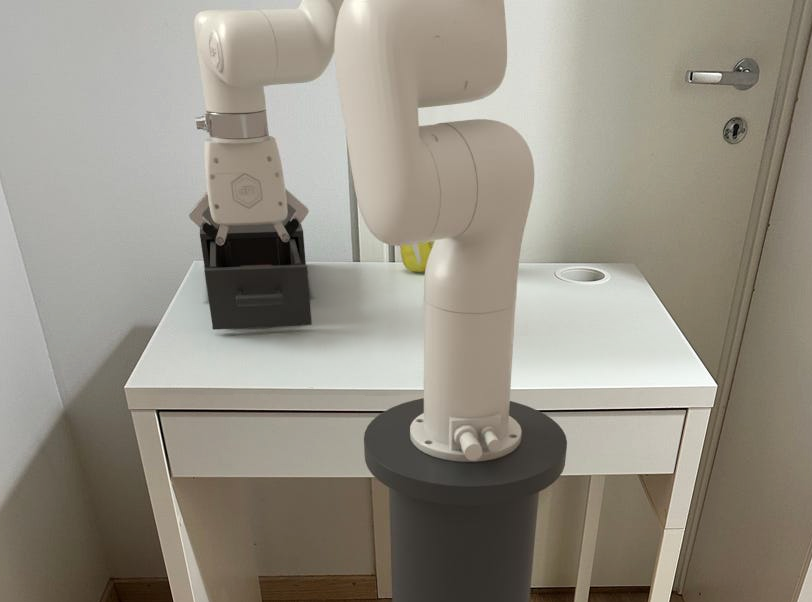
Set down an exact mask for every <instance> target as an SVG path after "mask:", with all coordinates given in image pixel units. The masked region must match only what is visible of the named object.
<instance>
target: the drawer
mask: <svg viewBox="0 0 812 602" xmlns="http://www.w3.org/2000/svg"><path fill="white" fill-rule="evenodd" d="M277 239H278V237H274V238H242V239H227V241H228V242H229V245H230V252H231V259H232V266H233V267H222V264H221V257H220V251H219V245H218V244H217V243H216V242H215V241H214V240H213V239H210V268H205V267H204V277H205V285H206V293H207V299H208V305H209V313H210V319H211V325H212V330H233V329H234V330H235V329H237V330H238V329H255V328H276V327H295V326H297V327H298V326H312V325H313V321H312V309H311V297H310V296H311V293H310V284H309V283H310V282H309V269H308V265H307V263H306V264H304V265H301V262H300V258H299V254H298V250H297V246H296V242H295V238H294V237H290V239H289V241H288V249H289V259H290V265H279V256H278V247H277ZM244 265H272V266H249V267H240V266H244Z"/></svg>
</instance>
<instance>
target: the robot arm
mask: <svg viewBox="0 0 812 602" xmlns="http://www.w3.org/2000/svg"><path fill="white" fill-rule="evenodd" d="M193 29H194V37H195V43H196V51H197V58H198V64H199V71H200V78H201V79H200V80H201V85H202V86H201V87H202V93H203V99H204V105H205V106H204V107H205V113H204V115H201V116H199V117H196V116H195V124H196V130H203V131H206V133H208V134H209V137H208V138H205V139H204V147H203V148H204V149H203V151H204V153H203V155H204V156H203V157H204V172H205V180H206V181H205V182H206V192H205V193H204V195H203V196H201V198H200V199H199V200H198V201H197V203H196V204H194V206H193V207H192V208H191V210H190V211H189V213H188V217H189V219H190V220H191V221H192V222H193V223H194V224H195V225H196V226H197V227H198V228H199V229H200V228H201V229H202V230H203V231H204V232H205V233H206V234H207V235H208V236H209V237H211V238H212V239H213V240H214V241H215V242H216V243H217V244H218V245H219V251H220V257H221V264H222V267H233V266H232V259H231V252H230V245H229V242H228V241H227V237H226V236H227V233H228V230H229V226H234V225H256V224H273V226H274V228H275V229H276V231H277V233H278V239H277V247H278V256H279V265H290V259H289V249H288V241H289V239H290V237H291V236H292V235H293V233H294V232H295V231H296V230H297V229H298V227H299V225H300V224H301V225H302V223H303V221H304V220H305V219H306V217H307V216H308V215H309V208H308V206H307V205H306V204H305V203H303V202H302V201H301V200H300V198H298V197H296V196H295V195H294V194H293V193H291V192H290V191H289V190H288V189H287V188H286V184H285V177H284V172H283V165H282V159H281V155H280V152H279V147H278V143H277V140H276V138H275V137H274V136H272V135H270V133H269V132H270V131H269V123H268V115H267V114H268V113H267V105H266V97H265V96H266V95H265V88H264V87H268V86H277V85H294V84H305V83H306V84H307V83H310V82H314V81H315V80H318V79H319V78H320V77H321V76H322V75H323V74H324V72H325V71H326V69H328V67H329V65H330V63H331V61H332V58H333V56H334V64H335V73H336V80H337V81H336V82H337V88H338V93H339V100H340V105H341V112H342V117H343V124H344V125H343V126H344V130H345V131H344V132H345V135H346V136H345V137H346V143H347V150H348V156H349V162H350V170H351V175H352V181H353V186H354V187H353V188H354V191H355V197H356V200H357V205H358V208H359V211H360V214H361V217H362V219H363V221H364V224H365V226H366V228H367V229H368V230H369V232H370V233H371V234H372V235H373V237H375V239H377V240H378V241H379V242H382V243H383V244H386V245H388V246H394V247H400V246H406V245H413V244H418V243H425V242H430V241H435V242H434V245H433V247H432V250H431V252H430V255H429V258H428V261H427V265H426V270H425V271H424V277H423V398H424V413H423V414H421V415H420V416H418V417H417V418H416V419H415V420H413V422H412V424H411V426H410V438H411V441H412V443H413V444H414V445H415V446H416V447H417V448H418V449H419V450H421V451H422V452H424V453H426V454H428V455H431V456H433V457H436V458H440V459H443V460H449V461H456V462H481V461H488V460H493V459H497V458H500V457H503V456H505V455H507V454H509V453H511V452H512V451H514V450H515V449H516V448H517V447H518V446H519V444H520V442H521V432H522V430H521V427H520V425H519V424H518V423H517V421H516V420H514V419H513V418H512V417H510V416H509V405H510V401H511V387H512V386H511V385H512V371H513V356H514V355H513V353H514V338H515V337H514V336H515V321H516V319H515V318H516V305H517V292H518V277H519V265H520V258H521V257H520V256H521V249H522V243H523V237H524V233H525V228H526V224H527V221H528V217H529V212H530V208H531V204H532V199H533V194H534V186H535V164H534V159H533V155H532V152H531V149H530V147H529V145H528V142H527V141H526V139H525V138H524V137H523V135H521V133H520V132H519V131H518V130H517V129H515V128H514V127H512V126H511V125H509V124H507V123H504V122H502V121H499V120H494V119H487V118H477V119H474V118H473V119H465V120H455V121H454V120H453V121H446V122H439V123H435V124H427V125H425V124H424V125H420V121H419V109H421V108H422V109H423V108H432V107H433V108H434V107H442V106H450V105H451V106H452V105H460V104H468V103H473V102H476V101H479V100H483V99H485V98H487V97H489V96H491V95H492V94H494V93H495V92H496V90H498V89H499V87H500V86H501V85H502V83H503V81H504V79H505V76H506V71H507V67H508V66H507V65H508V38H507V37H508V36H507V21H506V10H505V0H301V1H300V4H299V6H298V7H297V8H265V9H264V8H262V9H261V8H260V9H250V10H249V9H247V10H246V9H245V10H242V9H206V10H201V11H200V12H198V13H197V14H196V15H195V17H194V20H193ZM287 203H288V204H289V205H290V206H291V207H292V208H294V209H295V213H294V215H293V217H292V218H291V219H290V220H289V221H288V222H287V224H286V225H284V223H283V222H282V221H284V220H285V219H286V218H287V213H288V210H287ZM208 207H210V213H211V216H212V219H213V221H214V222H215V223H217V224H219V225H218V228H216V227H214V226H213V225H212V224H211V223H210V222H208V221H207V220H206V219H205V218H204V217H203V213H204V212H205V211H206V210H207V208H208Z"/></svg>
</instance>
